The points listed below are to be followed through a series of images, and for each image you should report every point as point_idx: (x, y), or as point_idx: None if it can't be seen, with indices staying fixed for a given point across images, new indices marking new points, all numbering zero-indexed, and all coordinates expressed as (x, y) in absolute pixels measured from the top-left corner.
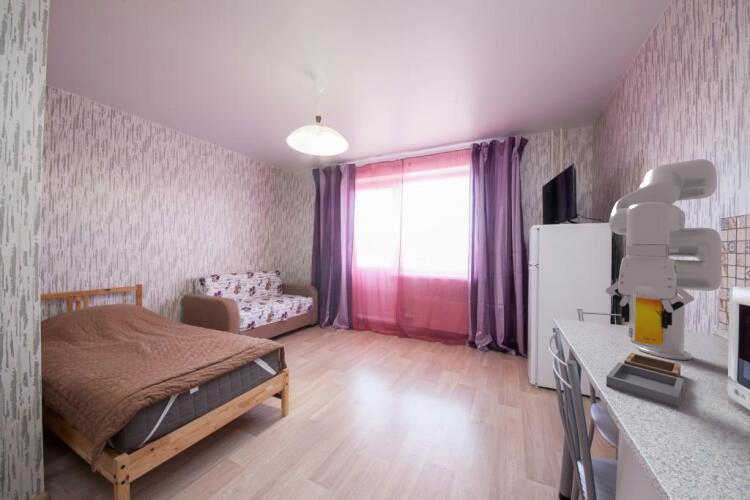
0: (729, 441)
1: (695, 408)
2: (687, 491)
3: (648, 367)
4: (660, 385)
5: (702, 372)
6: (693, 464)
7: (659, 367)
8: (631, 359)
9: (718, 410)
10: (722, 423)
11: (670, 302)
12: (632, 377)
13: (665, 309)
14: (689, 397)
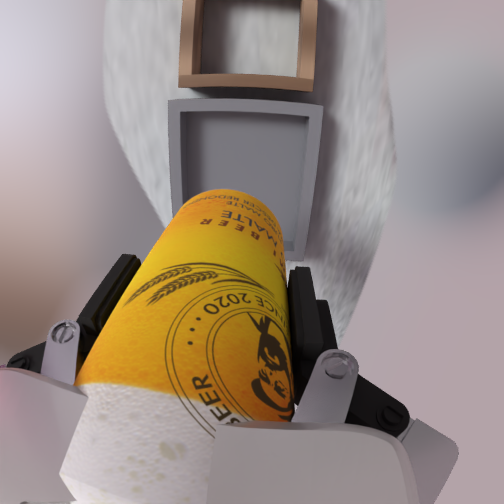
0: (344, 305)
1: (328, 217)
2: None
3: (242, 86)
4: (273, 145)
5: None
6: None
7: None
8: (193, 44)
9: (363, 192)
10: (354, 251)
11: (339, 421)
12: (213, 142)
13: (299, 400)
14: (326, 157)
